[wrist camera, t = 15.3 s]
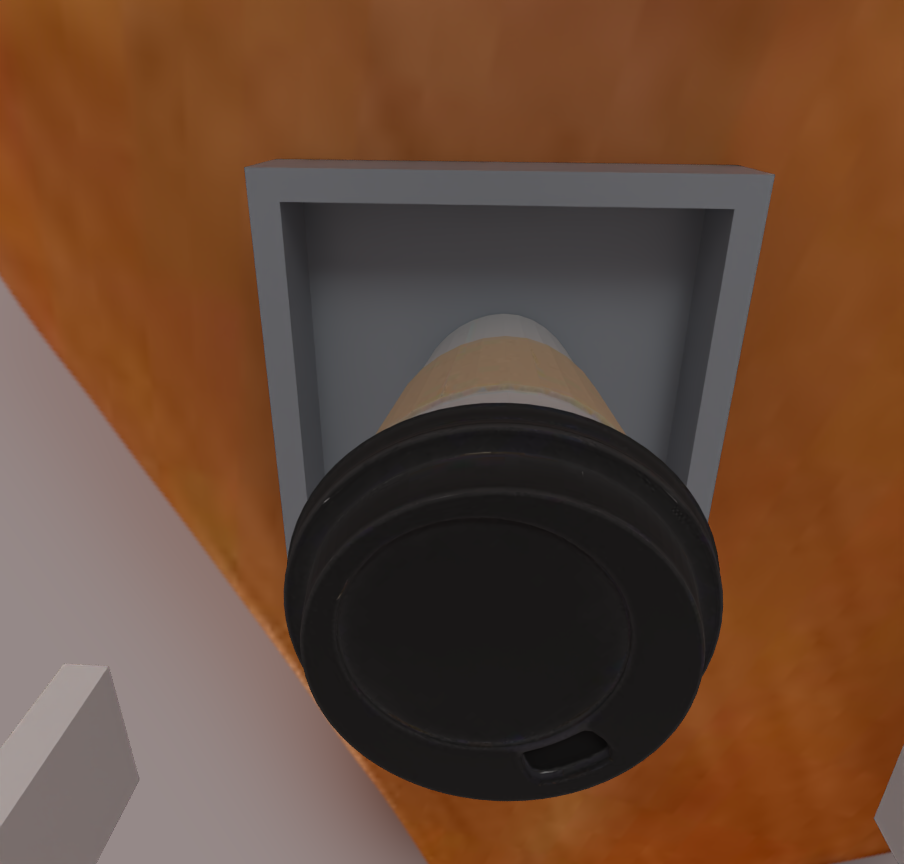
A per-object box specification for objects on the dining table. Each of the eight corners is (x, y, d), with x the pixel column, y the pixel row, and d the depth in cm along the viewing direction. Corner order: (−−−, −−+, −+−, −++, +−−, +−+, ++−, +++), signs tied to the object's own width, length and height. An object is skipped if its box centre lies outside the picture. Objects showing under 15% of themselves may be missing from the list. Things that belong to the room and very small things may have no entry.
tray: (276, 158, 25) (244, 167, 22) (737, 165, 24) (774, 174, 21) (311, 540, 31) (290, 588, 28) (671, 553, 31) (691, 604, 28)
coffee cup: (531, 527, 30) (557, 881, 16) (336, 416, 28) (186, 708, 15) (674, 349, 26) (862, 615, 13) (460, 210, 24) (411, 344, 11)
